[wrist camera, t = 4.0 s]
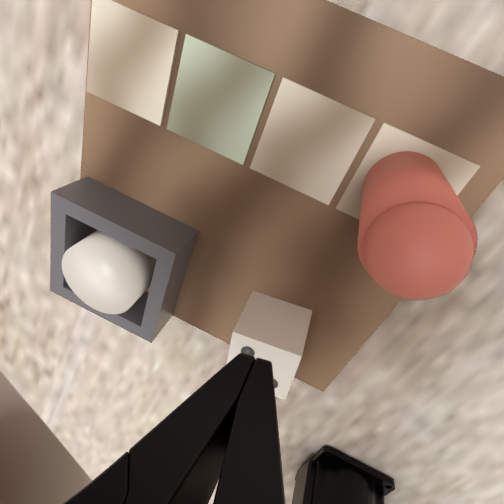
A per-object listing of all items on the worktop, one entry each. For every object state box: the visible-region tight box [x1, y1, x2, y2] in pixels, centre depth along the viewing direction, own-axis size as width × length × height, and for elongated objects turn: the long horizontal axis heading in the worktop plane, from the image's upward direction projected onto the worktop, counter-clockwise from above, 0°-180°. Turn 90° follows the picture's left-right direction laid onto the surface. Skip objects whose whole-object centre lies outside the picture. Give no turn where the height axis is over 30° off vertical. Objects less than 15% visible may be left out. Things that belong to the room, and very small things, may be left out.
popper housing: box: [50, 176, 198, 343], centre depth 22 cm, size 8×8×3 cm
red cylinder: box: [357, 151, 477, 300], centre depth 13 cm, size 4×4×8 cm
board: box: [80, 0, 504, 391], centre depth 20 cm, size 21×21×1 cm
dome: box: [62, 230, 157, 314], centre depth 22 cm, size 5×5×3 cm
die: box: [226, 291, 312, 400], centre depth 21 cm, size 4×4×4 cm
